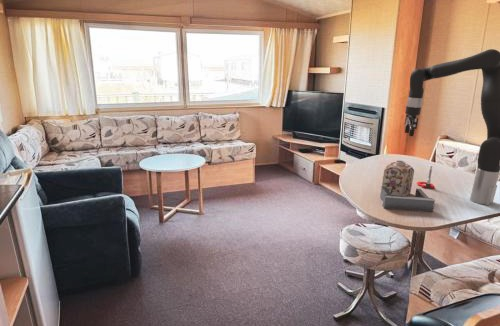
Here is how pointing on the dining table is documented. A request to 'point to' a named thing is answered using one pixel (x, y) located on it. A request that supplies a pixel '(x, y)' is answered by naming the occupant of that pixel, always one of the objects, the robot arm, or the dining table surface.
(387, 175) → the decorative jar
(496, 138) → the robot arm
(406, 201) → the grey tray
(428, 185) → the tow hook
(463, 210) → the dining table surface
